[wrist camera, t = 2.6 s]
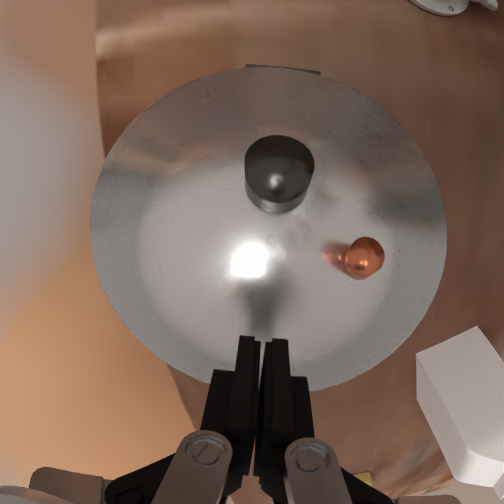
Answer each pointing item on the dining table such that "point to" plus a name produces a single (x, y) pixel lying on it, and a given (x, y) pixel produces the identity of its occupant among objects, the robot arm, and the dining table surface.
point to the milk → (465, 406)
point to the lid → (268, 225)
